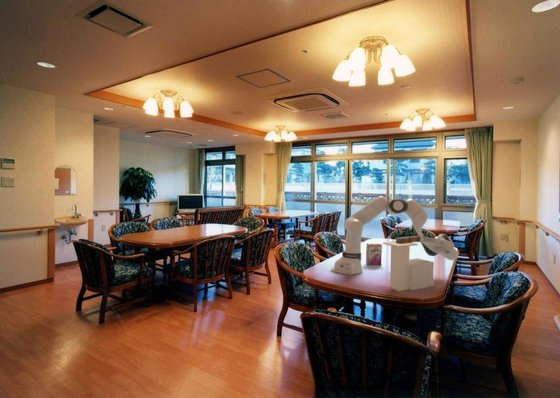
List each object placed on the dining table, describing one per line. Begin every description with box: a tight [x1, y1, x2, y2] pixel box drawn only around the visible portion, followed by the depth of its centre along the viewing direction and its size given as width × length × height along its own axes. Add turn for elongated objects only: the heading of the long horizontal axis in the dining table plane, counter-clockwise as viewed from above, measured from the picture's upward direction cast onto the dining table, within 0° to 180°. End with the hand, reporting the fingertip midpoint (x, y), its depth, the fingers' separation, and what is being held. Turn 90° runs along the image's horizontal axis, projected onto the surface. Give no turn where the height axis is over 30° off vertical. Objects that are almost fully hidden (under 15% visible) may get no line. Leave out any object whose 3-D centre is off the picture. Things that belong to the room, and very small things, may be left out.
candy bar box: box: [365, 243, 383, 266], centre depth 253 cm, size 11×5×16 cm, turn 92°
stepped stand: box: [382, 240, 435, 292], centre depth 197 cm, size 31×12×28 cm, turn 118°
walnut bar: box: [395, 235, 420, 244], centre depth 196 cm, size 18×3×3 cm, turn 118°
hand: (429, 237), depth 205 cm, fingers open, 8 cm apart
